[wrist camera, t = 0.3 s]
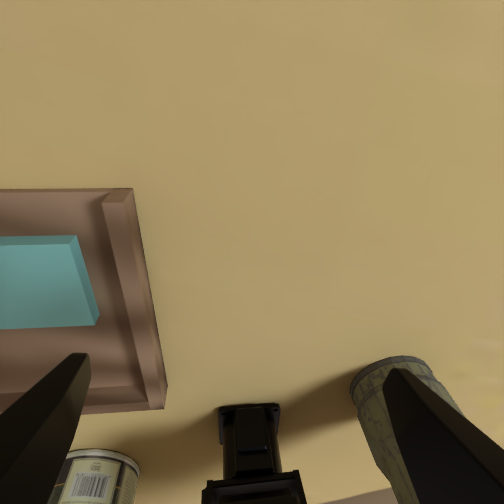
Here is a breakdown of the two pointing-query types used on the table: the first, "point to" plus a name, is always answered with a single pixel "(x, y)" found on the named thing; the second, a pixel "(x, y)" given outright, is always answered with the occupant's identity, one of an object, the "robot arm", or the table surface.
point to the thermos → (378, 422)
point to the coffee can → (96, 478)
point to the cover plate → (44, 283)
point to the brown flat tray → (106, 295)
